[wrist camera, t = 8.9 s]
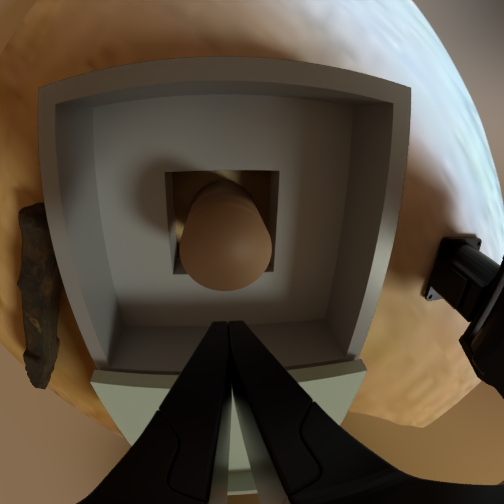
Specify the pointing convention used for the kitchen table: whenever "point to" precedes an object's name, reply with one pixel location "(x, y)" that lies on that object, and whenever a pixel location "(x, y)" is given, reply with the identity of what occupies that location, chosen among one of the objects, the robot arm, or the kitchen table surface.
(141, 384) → the lid
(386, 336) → the kitchen table surface
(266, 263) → the peg
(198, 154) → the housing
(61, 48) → the kitchen table surface
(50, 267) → the dark brown rough bar
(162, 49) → the kitchen table surface
